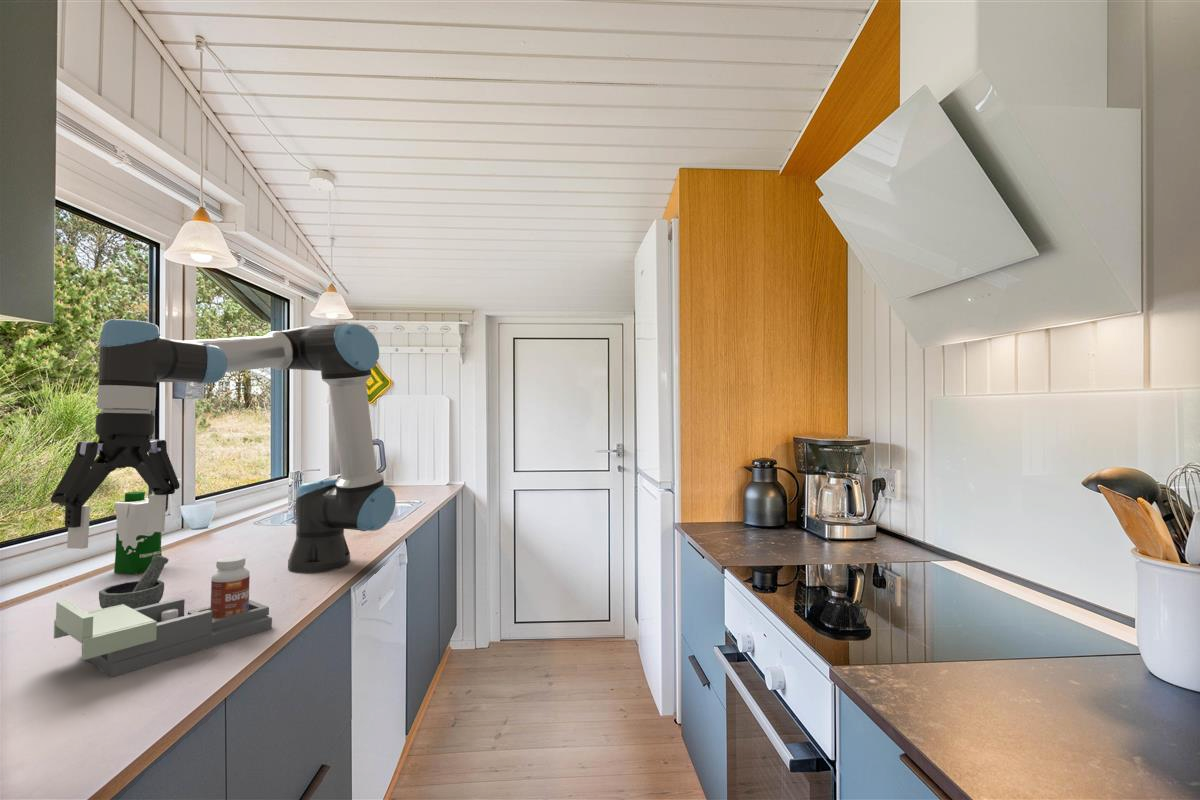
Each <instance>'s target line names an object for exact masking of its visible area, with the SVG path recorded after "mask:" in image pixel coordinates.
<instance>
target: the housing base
mask: <svg viewBox="0 0 1200 800" xmlns="http://www.w3.org/2000/svg"><path fill="white" fill-rule="evenodd" d="M185 603H186V601H185V598H183V597H179V598H174V599H169V600H166V601H162V602H161V601H160V602H159V603H156V604H152V605H148V606H143V607H139V608H135V609H134V610H136V611H138V612H139V613H141V614H143V615H145V616H147V617H149V618H151V619H153V620H155V621H157V633H156V640H154V641H151V642H147V643H144V644H140V645H136V646H133V647H129V648H125V649H122V650H118V651H115V652H111V653H107V654H104V655H100V656H96V657H93V658H89V659H86V660H87V661H89V662H90V663H92V665H94V666H95V667H97V668H98V669H99V670H101V671H102V672H104V673H105V674H106V675H107V676H109V677H111V678H114V677H117V676H120V675H123V674H126V673H130V672H132V671H137V670H140V669H143V668H146V667H150V666H152V665H157V664H159V663H163V662H165V661H169V660H172V659H175V658H179V657H182V656H185V655H189V654H192V653H196V652H198V651H202V650H206V649H208V648H212V647H215V646H218V645H221V644H226V643H228V642H231V641H235V640H238V639H241V638H245V637H247V636H251V635H254V634H257V633H260V632H261V633H262V632H264V631H267V629H268V630H271V629H272V626H273V617H271V616H270V607H269V606H267V605H265V604H263V603H260V602H257V601H254V600H252V599H249V611H245V612H242V613H238V614H234V615H231V616H227V617H223V618H220V619H214V618H212V616H213V611H211V605H210V606H206V607H202V608H197V609H194V610H191V611H187V615H185ZM270 628H271V629H270ZM82 652H83V644H82V643H81V653H82Z"/></svg>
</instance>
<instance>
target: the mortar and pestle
mask: <svg viewBox="0 0 1200 800" xmlns="http://www.w3.org/2000/svg"><path fill="white" fill-rule="evenodd" d="M169 560H170V559H169V558H168V557H166V556H164V555H163V556H153V557H152V562H151V564H150V565H149V567H148V568H147V570H146V571H145V572H143V575H142V576H141V577H140V579H139V580H132V581H125V582H121V583H116V584H113V585H109V586H107V587H105V588H103V589H101V590H99V591H98V601H99V607H101V608H100V609H104V608H108V607H113V606H117V605H122V604H124V605H126V606H128V607H130V608H132V609H135V608H139V607H143V606H148V605H152V604H156V603H161V600H162V598H163V596H164V591H165V582H164V581H162V580H160V579H159V578H160V576H161V573H162V572H163V570H164V567H165V565H166V564H168V562H169Z"/></svg>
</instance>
